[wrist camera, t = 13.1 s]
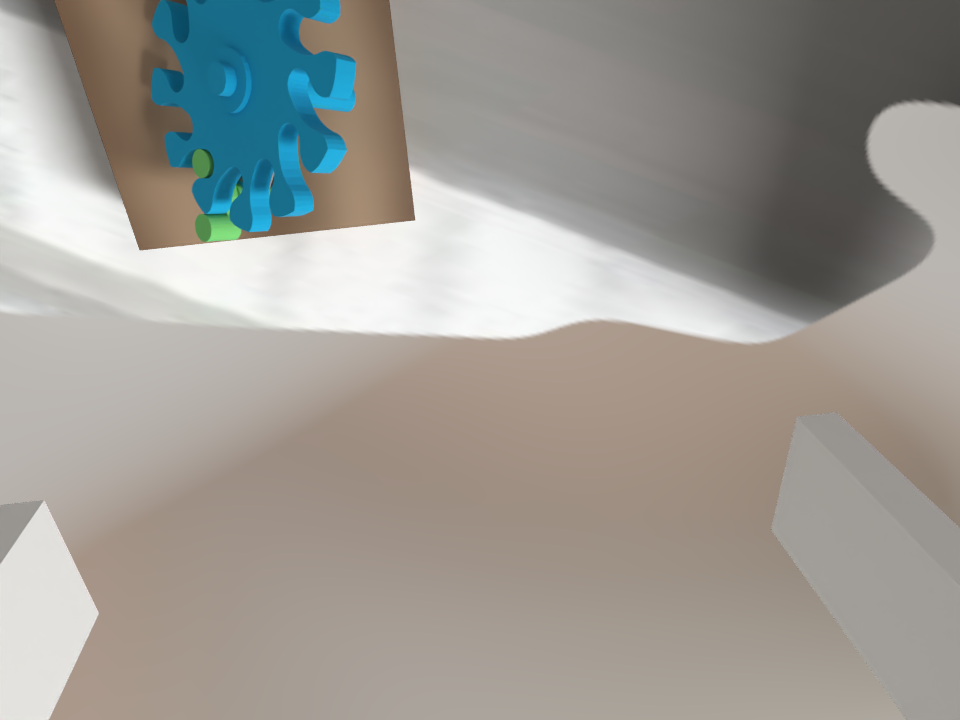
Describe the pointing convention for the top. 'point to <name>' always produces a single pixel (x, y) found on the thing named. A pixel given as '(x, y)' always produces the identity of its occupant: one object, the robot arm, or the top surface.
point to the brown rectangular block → (143, 124)
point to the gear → (250, 107)
